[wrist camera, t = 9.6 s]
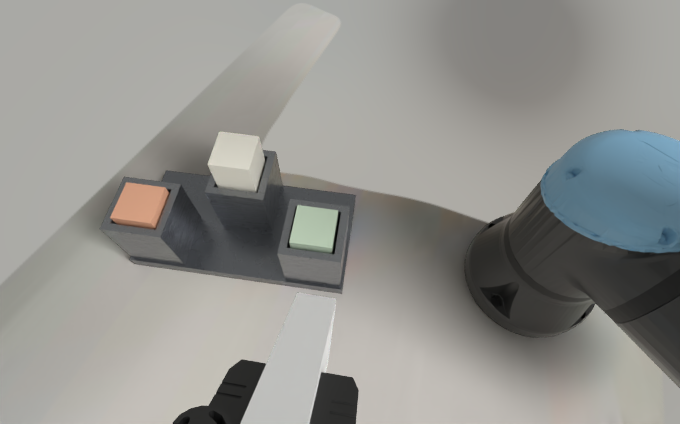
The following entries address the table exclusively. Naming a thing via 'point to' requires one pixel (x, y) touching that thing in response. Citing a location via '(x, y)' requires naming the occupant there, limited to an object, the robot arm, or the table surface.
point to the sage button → (314, 229)
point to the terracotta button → (140, 205)
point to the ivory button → (237, 162)
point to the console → (237, 231)
